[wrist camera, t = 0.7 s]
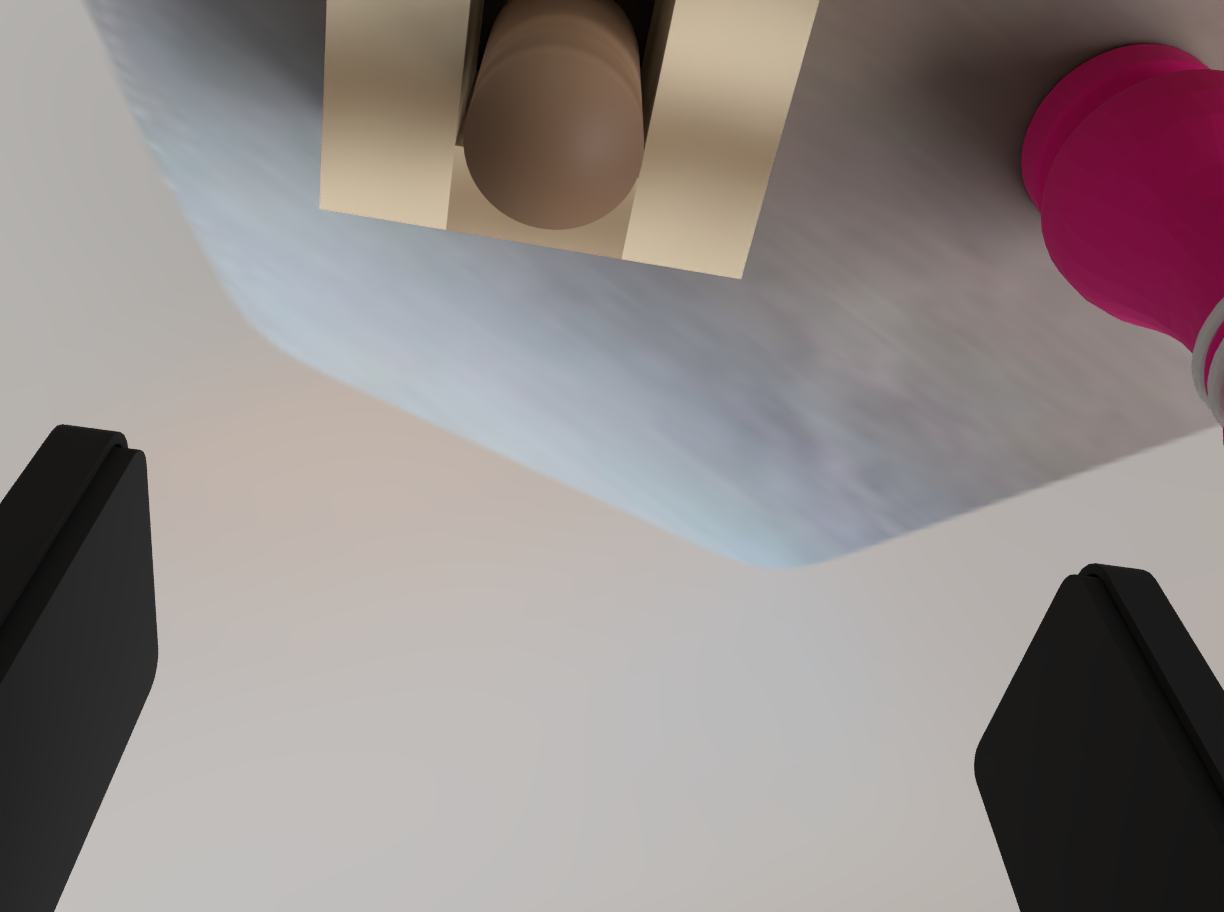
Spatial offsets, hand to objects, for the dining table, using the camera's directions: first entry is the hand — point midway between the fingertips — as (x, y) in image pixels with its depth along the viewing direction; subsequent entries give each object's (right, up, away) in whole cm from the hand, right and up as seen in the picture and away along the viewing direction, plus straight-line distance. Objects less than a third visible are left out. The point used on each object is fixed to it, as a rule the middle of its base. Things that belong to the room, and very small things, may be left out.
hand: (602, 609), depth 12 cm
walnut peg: (-1, +12, +19) cm, 22 cm away
